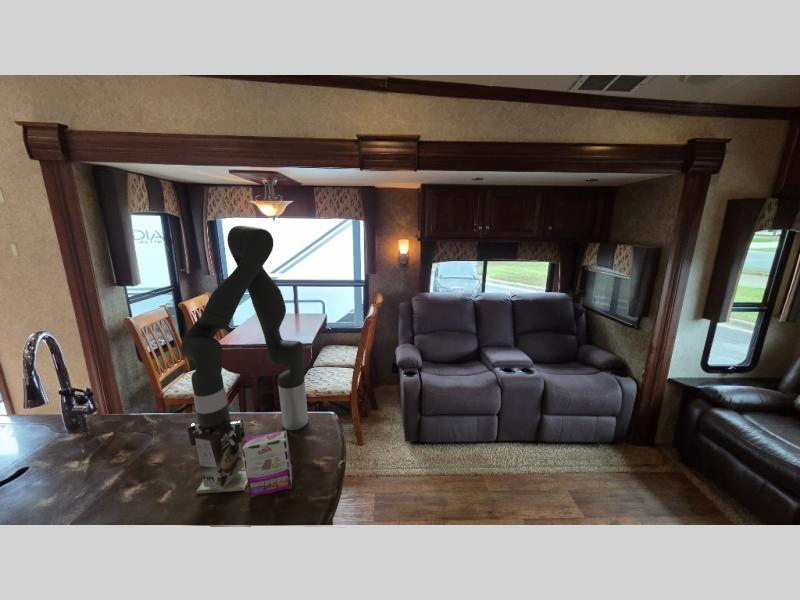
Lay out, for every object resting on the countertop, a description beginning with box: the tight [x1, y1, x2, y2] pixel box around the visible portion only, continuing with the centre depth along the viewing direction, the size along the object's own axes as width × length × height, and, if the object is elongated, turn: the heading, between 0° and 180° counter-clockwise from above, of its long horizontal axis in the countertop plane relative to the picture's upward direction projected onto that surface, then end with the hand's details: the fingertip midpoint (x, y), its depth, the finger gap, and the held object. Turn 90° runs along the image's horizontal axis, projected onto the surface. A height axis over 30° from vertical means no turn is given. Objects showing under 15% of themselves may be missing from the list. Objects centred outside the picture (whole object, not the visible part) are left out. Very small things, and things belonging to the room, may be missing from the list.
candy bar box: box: [241, 429, 293, 498], centre depth 89 cm, size 11×5×16 cm, turn 106°
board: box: [195, 455, 248, 495], centre depth 95 cm, size 13×13×1 cm
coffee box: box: [195, 419, 244, 490], centre depth 90 cm, size 9×6×16 cm
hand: (220, 454), depth 90 cm, fingers closed on coffee box, 7 cm apart
